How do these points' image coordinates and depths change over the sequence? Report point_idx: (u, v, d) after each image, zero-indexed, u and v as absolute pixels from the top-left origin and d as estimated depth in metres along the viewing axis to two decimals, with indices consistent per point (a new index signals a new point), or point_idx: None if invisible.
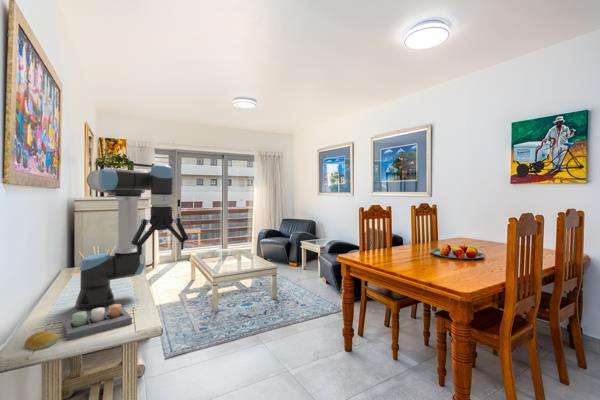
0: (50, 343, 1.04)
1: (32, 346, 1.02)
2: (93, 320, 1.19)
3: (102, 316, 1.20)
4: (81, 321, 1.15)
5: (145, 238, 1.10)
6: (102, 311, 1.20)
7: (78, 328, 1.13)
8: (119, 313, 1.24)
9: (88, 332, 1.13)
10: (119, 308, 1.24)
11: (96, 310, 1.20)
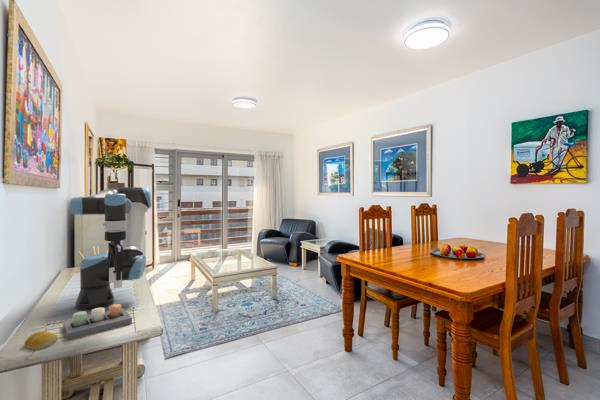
0: (50, 343, 1.04)
1: (32, 346, 1.01)
2: (93, 320, 1.19)
3: (102, 316, 1.20)
4: (81, 321, 1.15)
5: (109, 260, 1.26)
6: (102, 311, 1.20)
7: (78, 328, 1.13)
8: (119, 313, 1.24)
9: (88, 332, 1.13)
10: (119, 308, 1.24)
11: (96, 310, 1.20)
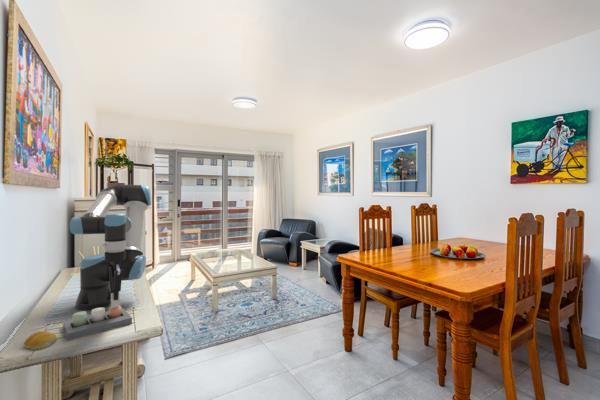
0: (49, 343, 1.04)
1: (31, 346, 1.01)
2: (93, 320, 1.19)
3: (102, 316, 1.20)
4: (81, 321, 1.15)
5: (111, 283, 1.24)
6: (102, 311, 1.20)
7: (78, 328, 1.13)
8: (119, 314, 1.24)
9: (88, 332, 1.13)
10: (119, 309, 1.24)
11: (96, 310, 1.20)
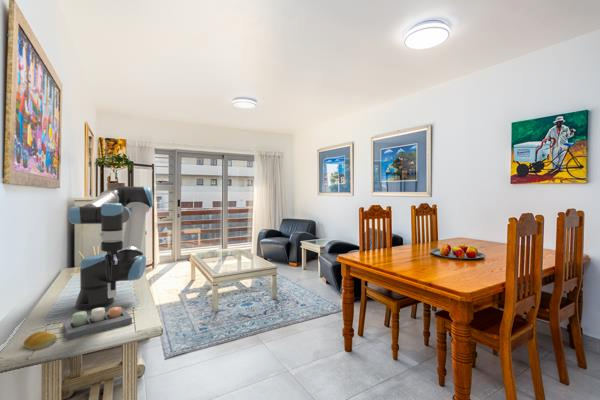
0: (49, 343, 1.04)
1: (31, 346, 1.01)
2: (93, 320, 1.19)
3: (102, 316, 1.20)
4: (81, 321, 1.15)
5: (107, 273, 1.24)
6: (102, 311, 1.20)
7: (78, 328, 1.13)
8: (119, 316, 1.24)
9: (88, 332, 1.13)
10: (119, 310, 1.24)
11: (96, 310, 1.20)
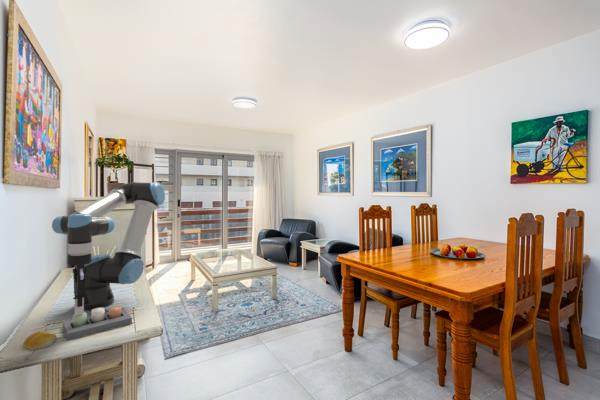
0: (48, 343, 1.04)
1: (30, 346, 1.01)
2: (93, 320, 1.19)
3: (102, 316, 1.20)
4: (81, 322, 1.15)
5: (75, 288, 1.16)
6: (102, 311, 1.20)
7: (78, 328, 1.13)
8: (119, 316, 1.24)
9: (88, 332, 1.13)
10: (119, 310, 1.24)
11: (96, 310, 1.20)
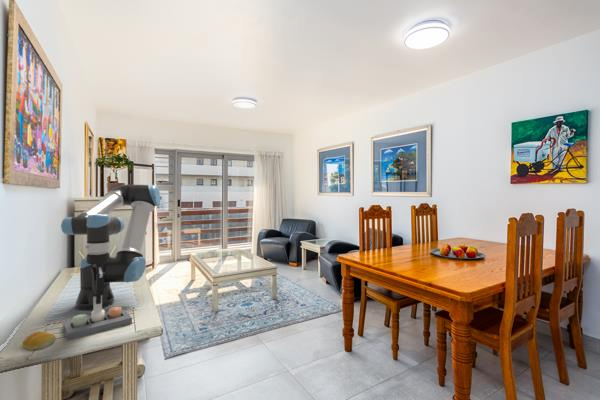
0: (48, 343, 1.04)
1: (30, 346, 1.01)
2: (93, 322, 1.19)
3: (102, 318, 1.20)
4: (81, 324, 1.15)
5: (93, 286, 1.20)
6: (102, 313, 1.20)
7: (78, 328, 1.13)
8: (119, 316, 1.24)
9: (88, 332, 1.13)
10: (119, 310, 1.24)
11: (96, 312, 1.20)
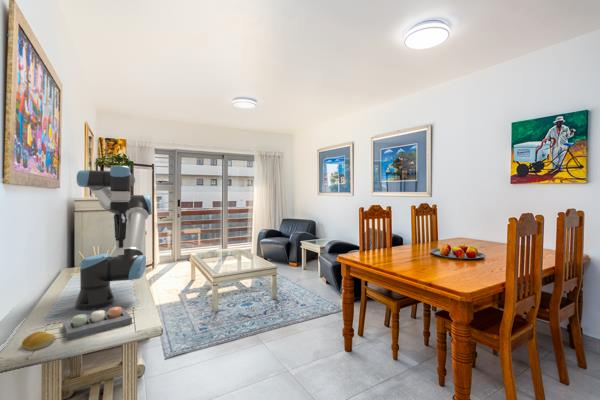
0: (47, 343, 1.04)
1: (29, 346, 1.01)
2: None
3: (102, 319, 1.20)
4: (81, 324, 1.15)
5: (116, 232, 1.31)
6: (102, 314, 1.20)
7: (78, 328, 1.13)
8: (119, 316, 1.24)
9: (88, 332, 1.13)
10: (119, 310, 1.24)
11: (96, 313, 1.20)
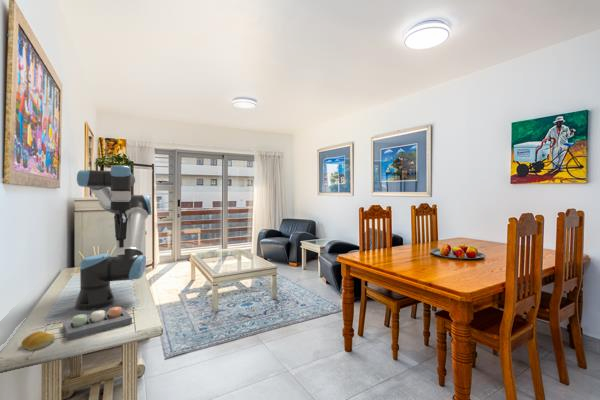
0: (47, 343, 1.04)
1: (28, 346, 1.01)
2: None
3: (102, 319, 1.20)
4: (81, 324, 1.15)
5: (116, 231, 1.32)
6: (102, 314, 1.20)
7: (78, 328, 1.13)
8: (119, 316, 1.24)
9: (88, 332, 1.13)
10: (119, 310, 1.24)
11: (96, 313, 1.20)
